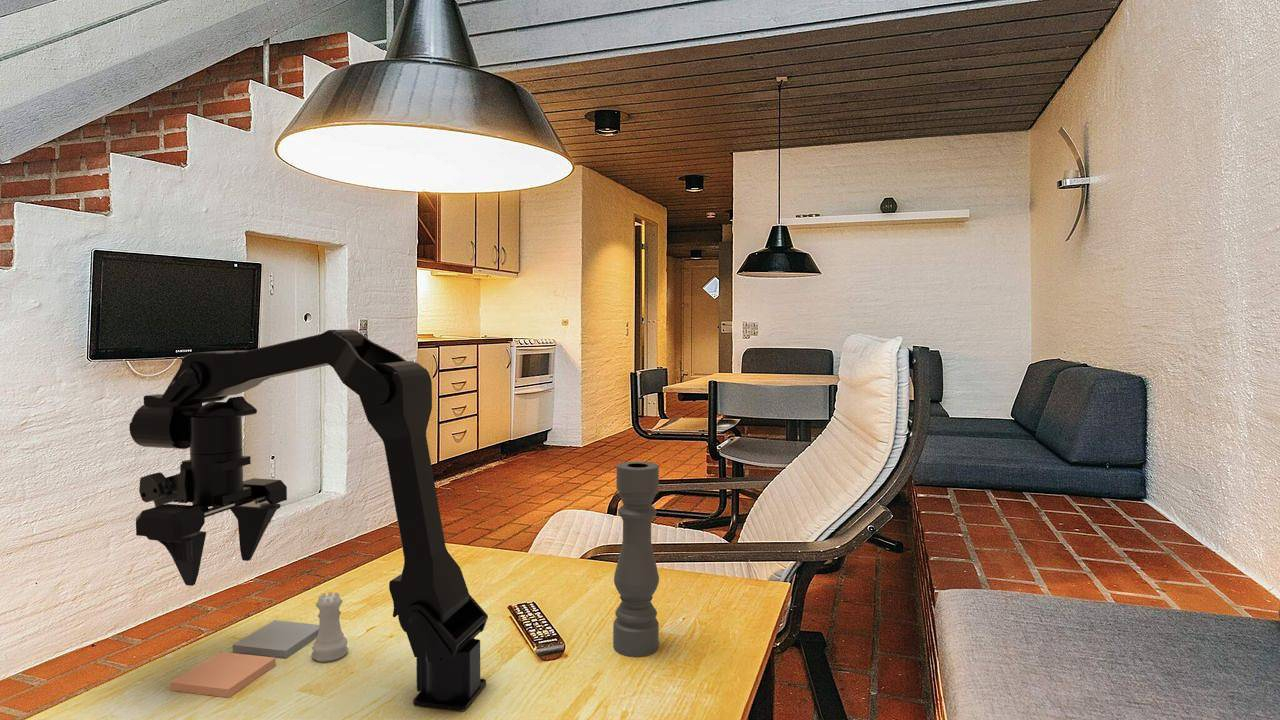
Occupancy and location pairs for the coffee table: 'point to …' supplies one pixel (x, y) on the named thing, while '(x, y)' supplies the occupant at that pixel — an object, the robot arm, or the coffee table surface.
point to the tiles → (246, 659)
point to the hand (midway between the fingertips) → (219, 572)
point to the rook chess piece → (329, 630)
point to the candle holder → (636, 561)
